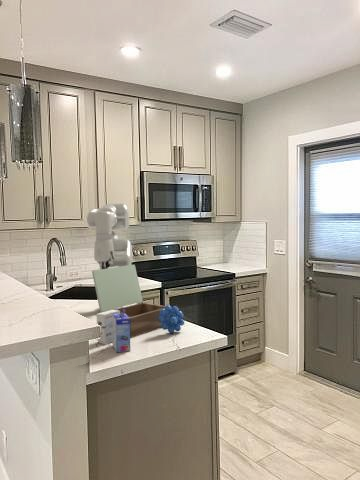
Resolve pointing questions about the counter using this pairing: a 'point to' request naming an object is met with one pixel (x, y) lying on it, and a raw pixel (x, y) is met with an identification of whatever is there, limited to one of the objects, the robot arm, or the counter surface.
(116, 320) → the ink cartridge box
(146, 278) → the counter surface
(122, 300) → the lid
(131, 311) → the storage box
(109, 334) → the ink box
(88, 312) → the counter surface
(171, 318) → the grapes
